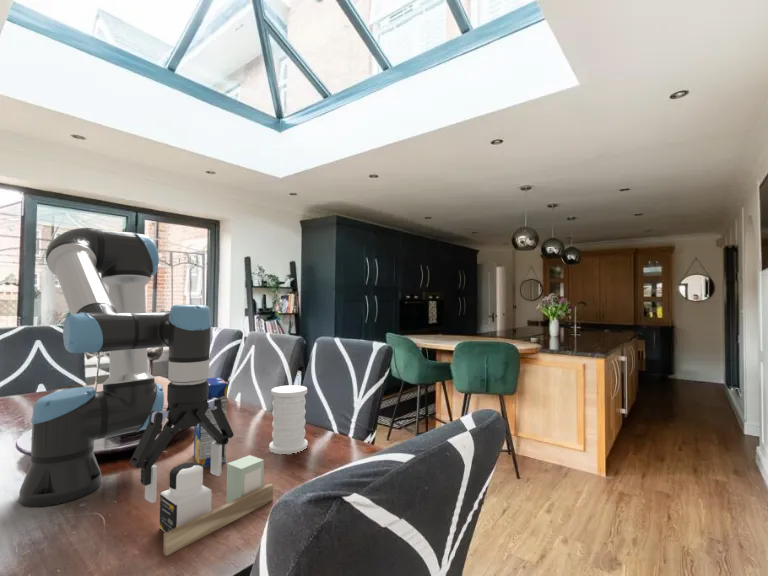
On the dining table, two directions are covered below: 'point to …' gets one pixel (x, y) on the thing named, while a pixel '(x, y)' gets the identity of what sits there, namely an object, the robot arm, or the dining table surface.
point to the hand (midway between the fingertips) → (185, 486)
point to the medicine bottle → (184, 497)
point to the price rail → (215, 519)
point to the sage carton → (244, 476)
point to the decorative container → (288, 419)
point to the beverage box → (200, 434)
